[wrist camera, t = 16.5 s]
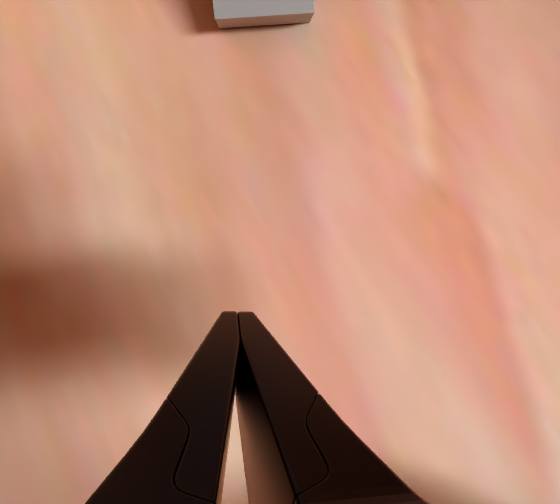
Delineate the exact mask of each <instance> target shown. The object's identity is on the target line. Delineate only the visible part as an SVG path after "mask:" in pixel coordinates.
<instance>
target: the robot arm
mask: <svg viewBox="0 0 560 504" xmlns="http://www.w3.org/2000/svg"><path fill="white" fill-rule="evenodd" d="M235 395H236V405H237V413H238V421H239V429H240V437H241V445H242V452H243V460H244V468H245V476H246V484H247V492H248V500H249V504H429V503H428V502H426V501H425V500H423V499H422V498H421V497H420V496H418V495H417V494H416V493H415V492H414V491H413V490H412V489H410V488H409V487H408V486H407V485H406V484H405V483H404V482H403V481H402V480H401V479H400V478H399V477H398V476H397V475H396V474H395V473H394V472H393V471H392V470H391V469H390V468H389V467H388V466H387V465H386V464H385V463H384V462H383V461H382V460H381V459H380V458H379V457H378V456H377V455H376V454H375V453H374V452H373V451H372V450H371V449H370V448H369V447H368V446H367V445H366V444H365V443H364V442H363V441H362V440H361V439H360V438H359V437H358V436H357V435H356V434H355V433H354V432H353V431H352V430H351V429H350V428H349V427H348V426H347V425H346V424H345V423H344V422H343V420H342V419H341V418H340V417H339V416H338V415H337V413H336V412H335V411H334V410H333V409H332V408H331V407H330V405H329V404H328V403H327V402H326V401H325V399H324V398H323V397H322V396H321V395H320V394H318V391H317V390H316V388H315V387H314V386H313V385H312V384H311V382H310V381H309V380H308V379H307V378H306V376H305V375H304V374H303V373H302V371H301V370H300V369H299V368H298V367H297V365H296V364H295V363H294V362H293V360H292V359H291V358H290V357H289V356H288V354H287V353H286V352H285V351H284V349H283V348H282V347H281V346H280V345H279V343H278V342H277V341H276V340H275V338H274V337H273V336H272V335H271V334H270V332H269V331H268V330H267V329H266V327H265V326H264V325H263V324H262V323H261V321H260V320H259V319H258V318H257V316H256V315H255V314H254V313H253V312H239V313H238V314H237V312H235V311H223V312H222V313H221V314H220V316H219V317H218V319H217V321H216V322H215V324H214V325H213V327H212V328H211V330H210V331H209V333H208V334H207V336H206V337H205V339H204V341H203V342H202V344H201V345H200V347H199V348H198V350H197V351H196V353H195V354H194V356H193V358H192V359H191V361H190V362H189V364H188V365H187V367H186V368H185V370H184V371H183V373H182V375H181V376H180V378H179V379H178V381H177V382H176V384H175V385H174V387H173V388H172V390H171V392H170V393H169V395H168V396H167V399H166V400H165V401H164V402H163V404H162V405H161V407H160V408H159V410H158V411H157V413H156V414H155V416H154V417H153V419H152V420H151V421H150V423H149V424H148V426H147V427H146V429H145V430H144V432H143V433H142V434H141V435H140V437H139V438H138V439H137V441H136V442H135V443H134V444H133V446H132V447H131V448H130V449H129V451H128V452H127V453H126V455H125V456H124V457H123V458H122V459H121V461H120V462H119V463H118V464H117V465H116V467H115V468H114V469H113V470H112V471H111V473H110V474H109V475H108V476H107V477H106V479H105V480H104V481H103V482H102V484H101V485H100V486H99V487H98V488H97V490H96V491H95V492H94V493H93V494H92V496H91V497H90V498H89V499H88V500H87V502H86V503H85V504H221V500H222V492H223V484H224V476H225V468H226V460H227V453H228V445H229V437H230V429H231V421H232V413H233V405H234V396H235Z"/></svg>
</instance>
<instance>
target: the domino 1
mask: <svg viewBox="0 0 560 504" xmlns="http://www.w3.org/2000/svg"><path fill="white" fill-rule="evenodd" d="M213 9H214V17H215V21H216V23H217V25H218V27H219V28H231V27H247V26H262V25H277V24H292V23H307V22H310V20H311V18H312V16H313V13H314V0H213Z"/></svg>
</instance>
